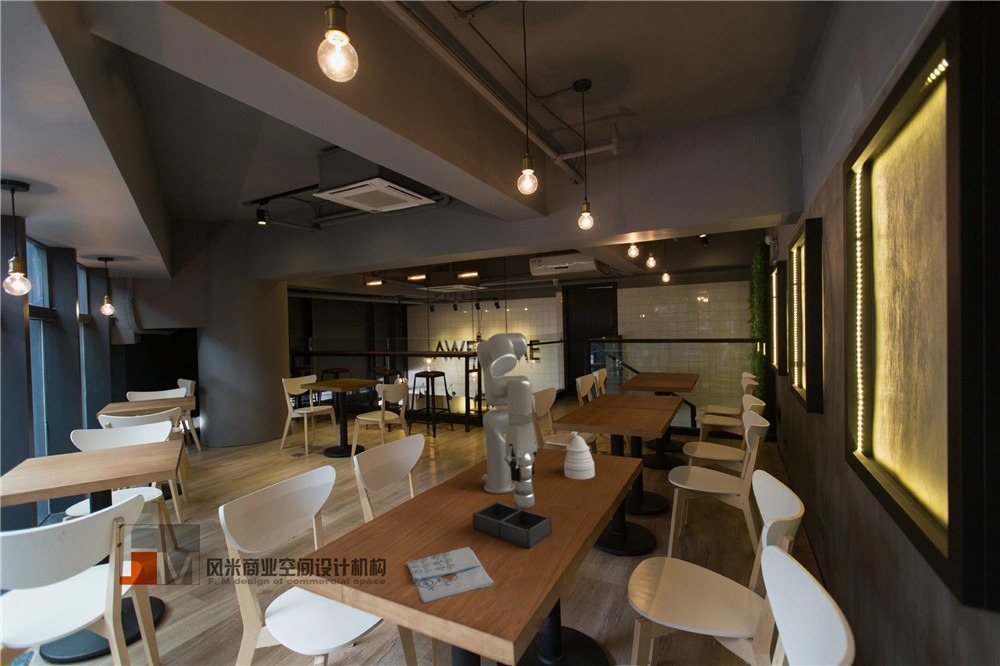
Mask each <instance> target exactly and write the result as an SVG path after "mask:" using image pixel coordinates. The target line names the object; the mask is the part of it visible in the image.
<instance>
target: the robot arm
mask: <svg viewBox="0 0 1000 666" xmlns="http://www.w3.org/2000/svg"><path fill="white" fill-rule="evenodd" d="M527 351H528V341H527V338H526V336H525V335H524V334H523V333H521V332H507V333H505V332H504V333H502V332H501V333H495V334H493V335H491V336H490V337H489V339H486V340H482V341H480V342H478V344H477V346H476V354H477V359H478V362H479V364H480V367H481V369H482V372H483V386H484V397H485V398H484V399H485V403H486V404H487V405H488V406H489V407H501V406H502V407H503V406H504V407H505V406H507V408H499V409H498V408H497V409H491V410H489V411H486V412H485V413H484V414H483V417H482V425H483V428H484V434H485V447H486V467H487V468H486V470H487V473H484V474H483V476H481V480H482V481H485V484H484V486H483V488H484V490H485V491H486V492H488V493H490V494H505V493H510V492H512V491H515V481H518V482H519V481H520V480H521V479H520V468H518V467H519V462H520V458H522V457H524V456H525V455H526V454H530V455H531V457H532V459H533V463H532V476H533V475H534V476H535V461H536V458H535V457H536V455H537V451H538V449H539V446H538V444H537V441H536V432H535V425H534V421H533V420H534V419H533V402H532V401H533V400H532V399H533V398H532V397H533V396H532V383H531V380H530V379H529V378H528V376H526V375H508V376H507V375H506V374H509V373H510V372H512V371H513V370H514V369H515V368H516V367H517V364H518V360H519V359H521V358H522V357H523V356H525V354H526V353H527ZM504 435H505V436H504ZM514 455H515V456H516V457H514ZM514 459H516V463H515V462H514ZM513 481H514V482H513Z"/></svg>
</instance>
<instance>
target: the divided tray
mask: <svg viewBox="0 0 1000 666" xmlns="http://www.w3.org/2000/svg"><path fill="white" fill-rule="evenodd" d="M472 523H473V530H475V531H478V532H481V533H483V534H486V535H489V536H492V537H495V538H497V539H500V540H503V541H505V542H509V543H511V544H514V545H517V546H519V547H523V548H525V549H528V550H530V549H532V548H533V547H535V546H536V545H538V544H539V543H540V542H542V541H544V540H545V539H546V538H548V537H550V536H551V535H553V533H552V532H553V530H552V517H550V516H546V515H543V514H540V513H535V512H532V511H529V510H521V509H518V508H516V506H513V505H512V506H511V505H508V504H504V503H500V502H497V501H495V502H494V503H490V505H487V506H486V507H483V508H481V509H480V510H477V511H475V512H473V513H472Z"/></svg>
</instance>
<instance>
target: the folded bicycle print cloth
mask: <svg viewBox="0 0 1000 666" xmlns="http://www.w3.org/2000/svg"><path fill="white" fill-rule="evenodd" d="M406 566H407V568H408V570H409V572H410V575H411V576H412V582H413V583H414V586H413V587H415V586H416V589H417V591H418V594H419V597H420V599H421V601H422V603H423V604H426V603H427V604H428V603H431V602H434V601H437V600H440V599H444V598H449V597H452V596H456V595H459V594H465V593H467V592H471V591H475V590H480V589H486V588H492V586H495V582H494V581H493V579H492V578H491V577H490V575H489V574H488V573H487V571H486V570H485V568H484V566H483V565H482V563H481V562H480V560H479V559H478V557H477V556H476V553H475V552H474V550H473V549H471V547H470V546H467V547H462V548H458V549H453V550H450V551H447V552H442V553H438V554H433V555H431V556H426V557H423V558H420V559H415V560H411V561H407V562H406ZM448 575H454V576H453V577H450V578H443V577H445V576H448Z"/></svg>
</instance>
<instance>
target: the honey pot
mask: <svg viewBox="0 0 1000 666" xmlns="http://www.w3.org/2000/svg"><path fill="white" fill-rule="evenodd" d="M570 434H571V436H572V437H573V439H572V440H571V442H570V443H569V445H567V446H566V448H565V450H566V451H567V453H566V454H565V460H564V461H563V463H564V476H565V477H566V478H569V479H573V480H588V479H589V480H590V479H592V478H593V477H595V476H596V472H595V469H596V468H595V461H594V459H593V457H592V454H591V452H590V449H591V448H590V446H589V445H588V444H587V443H586V441H585V439H584V438H583V437H582V436H580V435H577V434H578V432H577V431H571V432H570Z"/></svg>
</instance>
